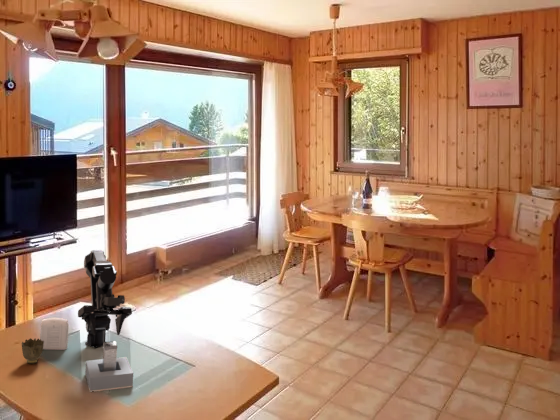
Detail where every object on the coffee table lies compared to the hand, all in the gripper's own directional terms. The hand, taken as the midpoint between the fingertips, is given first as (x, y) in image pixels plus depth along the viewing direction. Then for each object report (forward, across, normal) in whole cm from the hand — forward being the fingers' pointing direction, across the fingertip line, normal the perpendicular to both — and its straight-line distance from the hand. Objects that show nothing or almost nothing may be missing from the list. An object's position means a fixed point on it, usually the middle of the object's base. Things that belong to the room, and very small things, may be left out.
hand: (106, 334), depth 193 cm
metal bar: (+16, 0, 0) cm, 16 cm away
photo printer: (-4, -8, +30) cm, 31 cm away
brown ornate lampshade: (+4, -18, +23) cm, 30 cm away
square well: (+16, 0, 0) cm, 16 cm away
